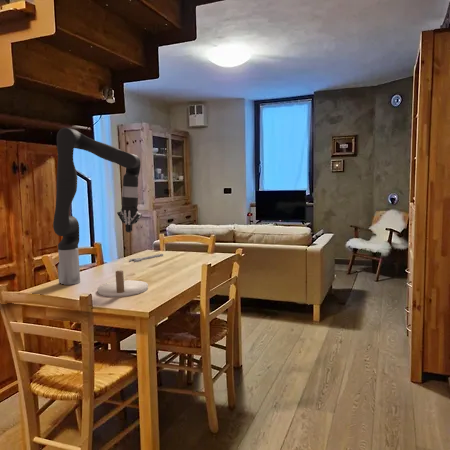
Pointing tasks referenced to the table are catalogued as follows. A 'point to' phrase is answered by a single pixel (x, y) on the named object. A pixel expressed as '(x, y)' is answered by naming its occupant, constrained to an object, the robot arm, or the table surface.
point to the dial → (122, 287)
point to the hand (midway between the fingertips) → (128, 232)
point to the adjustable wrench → (145, 258)
